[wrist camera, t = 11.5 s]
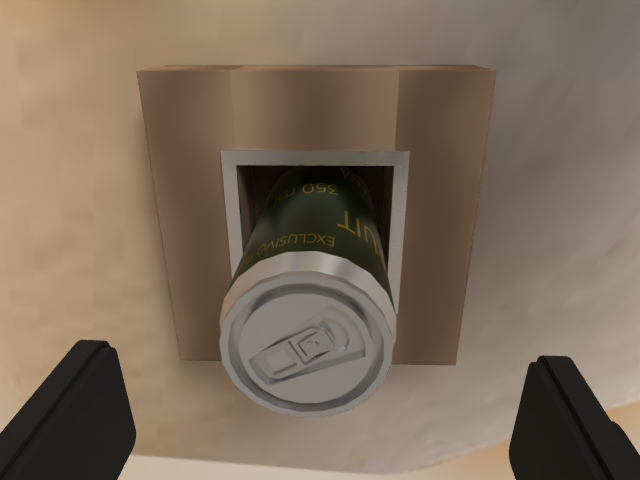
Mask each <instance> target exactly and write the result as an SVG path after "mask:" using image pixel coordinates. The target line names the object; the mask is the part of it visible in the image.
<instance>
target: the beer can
mask: <svg viewBox="0 0 640 480" xmlns="http://www.w3.org/2000/svg"><path fill="white" fill-rule="evenodd" d="M219 324H220V330H221V336H220V340H219V345H220V351H221V357H222V363H223V366H224V368H225V369H226V371H227V373H228V375H229V376H230V378H231V380H232V382H233V383H234V385H235V386H236V387H237V388H238V389H240V390H241V391H242V392H243V393H244V394H245V395H246V396H247V397H248V398H249V399H250V400H251V401H253V402H255V403H257V404H259V405H261V406H263V407H265V408H267V409H269V410H271V411H273V412H276V413H280V414H285V415H289V416H294V417H298V418H306V417H326V416H330V415H334V414H337V413H341V412H345V411H348V410H350V409H351V408H353V407H355V406H357V405H358V404H360V403H362V402H363V401H365V400H367V399H368V398H369V397H370V396H371V395H372V394H373V393H374V392H375V391H376V389H377V388H378V387H379V386H380V385H381V384H382V383H383V382H384V379H385V377H386V374H387V372H388V370H389V367H390V365H391V362H392V349H393V347H394V344H395V342H396V313H395V308H394V303H393V298H392V293H391V289H390V284H389V279H388V274H387V269H386V264H385V260H384V255H383V250H382V245H381V240H380V235H379V230H378V226H377V221H376V216H375V211H374V206H373V202H372V199H371V196H370V194H369V191H368V188H367V187H366V185H365V184H364V183H363V182H362V180H361V179H360V178H359V177H358V175H357V174H355V173H354V172H352V171H351V170H349V169H348V168H346V167H344V166H322V165H297V166H294V167H292V168H290V169H289V170H288V171H287V172H285V173H284V174H283V175H282V176H280V177H279V178H278V180H277V181H276V183H275V185H274V186H273V188H272V189H271V191H270V193H269V195H268V197H267V200H266V202H265V204H264V207H263V209H262V211H261V214H260V216H259V218H258V221H257V223H256V225H255V228H254V230H253V232H252V235H251V237H250V239H249V242H248V244H247V246H246V249H245V251H244V253H243V256H242V258H241V260H240V263H239V265H238V267H237V270H236V272H235V274H234V277H233V279H232V281H231V283H230V286H229V288H228V290H227V293H226V295H225V297H224V301H223V306H222V311H221V315H220V320H219Z"/></svg>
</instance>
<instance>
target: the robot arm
mask: <svg viewBox="0 0 640 480" xmlns="http://www.w3.org/2000/svg"><path fill="white" fill-rule="evenodd" d="M135 440H136V429H135V425H134V421H133V417H132V413H131V408H130V404H129V400H128V396H127V392H126V388H125V384H124V379H123V375H122V371H121V367H120V363H119V359H118V355H117V351H116V349H115V348H113V347H110V345H109V343H108V342H107V341H100V340H80V341H78V342H77V343H76V344H75V345H74V346H73V347H72V348H71V350H70V351H69V352H68V353H67V354H66V356H65V357H64V358H63V359H62V360H61V362H60V363H59V364H58V365H57V366H56V368H55V369H54V370H53V371H52V372H51V373H50V375H49V376H48V377H47V378H46V379H45V381H44V382H43V383H42V384H41V385H40V387H39V388H38V389H37V390H36V391H35V393H34V394H33V395H32V396H31V397H30V399H29V400H28V401H27V402H26V403H25V405H24V406H23V407H22V408H21V409H20V411H19V412H18V413H17V414H16V415H15V416H14V418H13V419H12V420H11V421H10V423H9V424H8V425H7V426H6V427H5V428H4V430H3V431H2V432H1V433H0V480H117V479H118V477H119V475H120V473H121V471H122V469H123V467H124V465H125V463H126V461H127V459H128V457H129V455H130V453H131V451H132V449H133V447H134V444H135ZM509 459H510V464H511V467H512V470H513V473H514V476H515V479H516V480H640V455H639V454H638V452H637V451H636V449H635V447H634V446H633V445H632V443H631V441H630V440H629V438H628V437H627V435H626V434H625V432H624V431H623V430H622V429H621V427H620V426H619V425H618V424H616V423H615V422H613V421H611V420H610V419H609V417H608V416H607V414H606V412H605V411H604V409H603V408H602V406H601V405H600V403H599V401H598V400H597V398H596V397H595V395H594V394H593V392H592V390H591V389H590V387H589V386H588V384H587V383H586V381H585V379H584V378H583V376H582V375H581V373H580V372H579V370H578V369H577V367H576V365H575V364H574V362H573V361H572V360H571V358H569V357H567V356H539V358H538V359H537V362H531V363H530V364H529V367H528V371H527V375H526V379H525V384H524V388H523V392H522V396H521V400H520V405H519V409H518V413H517V417H516V421H515V426H514V430H513V434H512V438H511V442H510V447H509Z"/></svg>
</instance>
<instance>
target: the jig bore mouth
mask: <svg viewBox="0 0 640 480" xmlns="http://www.w3.org/2000/svg"><path fill="white" fill-rule="evenodd" d="M409 157H410V151H409V150H221V161H222V172H223V184H224V195H225V206H226V217H227V228H228V239H229V251H230V262H231V273H232V279H233V277H234V274H235V272H236V270H237V267H238V265H239V263H240V260H241V258H242V256H243V253H244V249H243V236H242V223H241V210H240V197H239V184H238V171H237V165H322V166H394V169H393V185H392V202H391V218H390V235H389V251H388V268H387V274H388V279H389V284H390V289H391V293H392V298H393V303H394V308H395V313H396V314H398V306H399V293H400V279H401V265H402V252H403V238H404V225H405V211H406V198H407V184H408V170H409Z"/></svg>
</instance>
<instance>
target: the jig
mask: <svg viewBox="0 0 640 480" xmlns="http://www.w3.org/2000/svg"><path fill="white" fill-rule="evenodd" d="M495 76H496V70H491V69H487V68H483V67H478V66H474V65H280V66H162V67H157V68H151V69H146V70H141V71H137V77H138V84H139V90H140V97H141V104H142V110H143V117H144V123H145V130H146V137H147V143H148V150H149V156H150V163H151V169H152V176H153V183H154V189H155V196H156V202H157V209H158V216H159V222H160V229H161V235H162V242H163V249H164V255H165V262H166V268H167V275H168V282H169V288H170V295H171V301H172V308H173V314H174V321H175V328H176V334H177V341H178V347H179V354H180V360H197V361H222V357H221V351H220V345H219V340H220V336H221V330H220V324H219V320H220V315H221V311H222V306H223V301H224V297H225V295H226V293H227V290H228V288H229V286H230V283H231V281H232V273H231V262H230V251H229V239H228V228H227V217H226V206H225V195H224V184H223V172H222V161H221V150H409V151H410V157H409V170H408V184H407V198H406V211H405V225H404V238H403V252H402V265H401V279H400V293H399V306H398V314H396V342H395V344H394V347H393V349H392V362H391V364H409V365H456V358H457V350H458V343H459V336H460V329H461V321H462V314H463V307H464V300H465V293H466V285H467V278H468V271H469V264H470V256H471V249H472V242H473V235H474V228H475V220H476V213H477V206H478V199H479V191H480V184H481V177H482V170H483V163H484V155H485V148H486V141H487V134H488V127H489V119H490V112H491V105H492V98H493V90H494V83H495ZM393 169H394V166H385V172H384V191H383V210H382V229H381V245H382V250H383V255H384V260H385V264H386V269H387V268H388V251H389V235H390V218H391V202H392V185H393ZM237 171H238V184H239V197H240V210H241V223H242V236H243V249H244V251H245V249H246V246H247V244H248V242H249V239H250V237H251V235H252V232H253V230H254V228H255V225H256V218H255V202H254V186H253V170H252V165H237Z"/></svg>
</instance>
